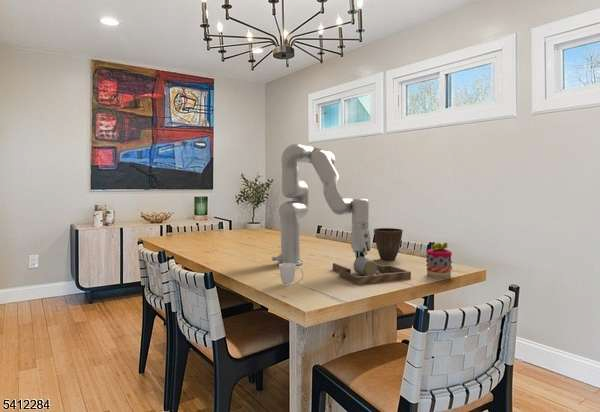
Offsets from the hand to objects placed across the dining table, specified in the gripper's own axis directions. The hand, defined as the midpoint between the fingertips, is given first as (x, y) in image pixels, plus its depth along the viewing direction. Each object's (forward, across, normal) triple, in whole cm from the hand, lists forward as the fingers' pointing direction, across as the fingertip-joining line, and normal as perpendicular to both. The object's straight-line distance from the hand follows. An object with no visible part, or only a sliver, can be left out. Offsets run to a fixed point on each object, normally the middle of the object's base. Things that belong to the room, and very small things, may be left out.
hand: (359, 265), depth 179 cm
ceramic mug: (+3, -6, 0) cm, 7 cm away
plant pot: (+3, +19, -29) cm, 35 cm away
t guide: (+3, -5, 0) cm, 6 cm away
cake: (+3, -20, -28) cm, 34 cm away
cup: (+3, -8, +37) cm, 38 cm away
